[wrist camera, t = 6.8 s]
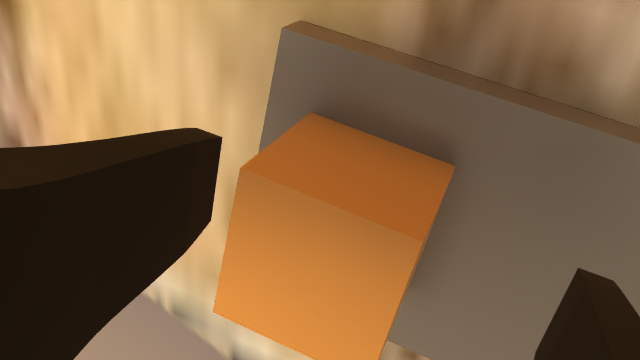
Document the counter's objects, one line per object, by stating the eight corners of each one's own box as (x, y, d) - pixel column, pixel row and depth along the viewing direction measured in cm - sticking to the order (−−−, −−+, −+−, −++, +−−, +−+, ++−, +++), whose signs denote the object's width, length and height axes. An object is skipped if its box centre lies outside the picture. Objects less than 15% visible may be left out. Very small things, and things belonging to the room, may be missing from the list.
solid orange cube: (455, 166, 19) (422, 241, 14) (408, 288, 21) (368, 384, 17) (310, 112, 20) (240, 167, 16) (281, 234, 22) (212, 312, 18)
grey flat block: (741, 161, 17) (798, 243, 13) (592, 399, 22) (598, 517, 18) (299, 20, 20) (228, 49, 16) (252, 255, 25) (187, 327, 21)
